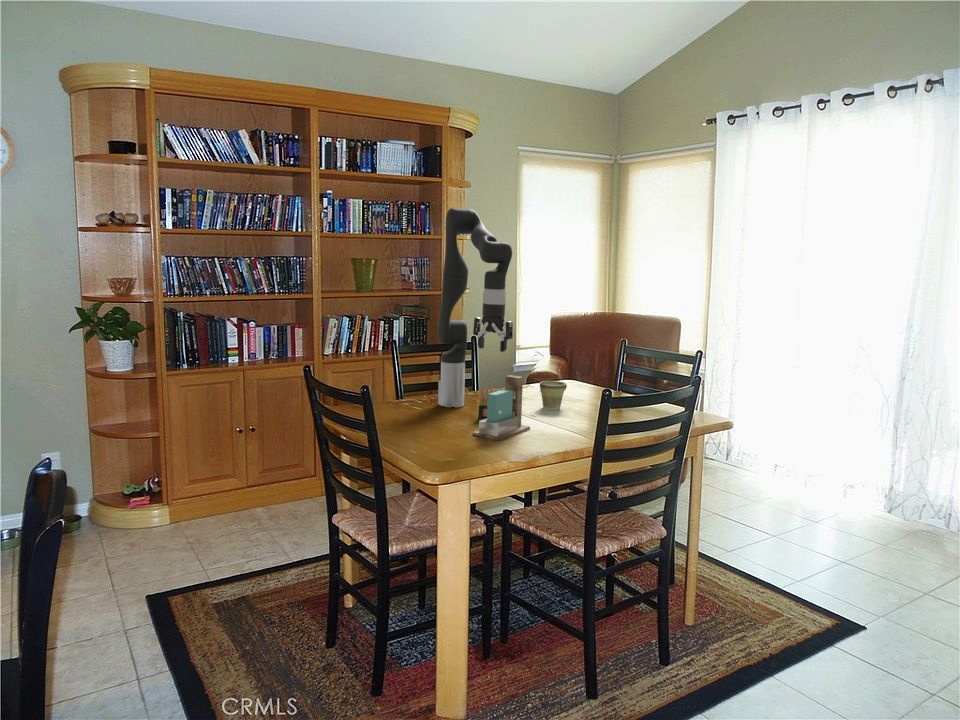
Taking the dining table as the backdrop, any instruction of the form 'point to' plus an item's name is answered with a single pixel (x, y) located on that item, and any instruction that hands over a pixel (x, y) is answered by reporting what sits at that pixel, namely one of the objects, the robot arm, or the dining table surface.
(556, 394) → the ceramic cup
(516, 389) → the hinge frame
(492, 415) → the teal door
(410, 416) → the dining table surface
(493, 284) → the robot arm
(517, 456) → the dining table surface
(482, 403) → the ammunition clip
